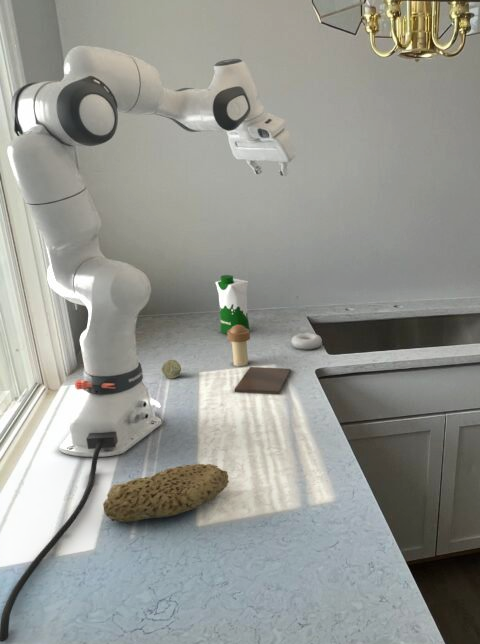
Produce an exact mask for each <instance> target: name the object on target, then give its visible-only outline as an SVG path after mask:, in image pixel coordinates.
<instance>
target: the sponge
mask: <svg viewBox="0 0 480 644" xmlns="http://www.w3.org/2000/svg"><path fill="white" fill-rule="evenodd" d="M229 483H230V481H229V475H228V471H227V470H223V469H221V468H219V467H218V465H215V464H211V463H206V464H204V463H196V464H186V465H179V466H175V467H169V468H165V469H164V471H162V470H160V471H158V472H156V473H155V474H153V475H151V476H146V477H139V478H135V479H132V480H129V481H126V482H120V483H115V484H113V485H112V486H111V488H110V490H109V491H108V493H107V495H106V496H107V498H106V499H105V500H104V501H103V503H102V506H103V512H104V515H105V516H106V517H107V518H108V519H109V520H110V521H111V522H121V523H128V522H138V521H139V522H140V521H141V520H142V521H143V520H146V519H159V518H167V517H172V516H176V515H179V514H183V513H185V512H187V511H191V510H193V509H196V508H197V507H198V506H200V505H202V504H203V503H205V502H206V501H208V500H210V499H212V498H214V497H215V496H218V495H220V493H221V492H223V491H224V490H225V489H226V488H227V487H228V484H229Z"/></svg>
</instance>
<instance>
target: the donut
mask: <svg viewBox="0 0 480 644" xmlns="http://www.w3.org/2000/svg"><path fill="white" fill-rule="evenodd" d="M291 344H292V347H294V348H295V349H297V350H304V351H311V350H315V349H317V348H320V347H321V345H322V344H323V339H322V337H321V336H320V335H318V334H316V333H312V332H302V333H298V334H295V335H294V336H293V337H292V339H291Z"/></svg>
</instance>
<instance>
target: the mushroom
mask: <svg viewBox="0 0 480 644" xmlns="http://www.w3.org/2000/svg"><path fill="white" fill-rule="evenodd" d="M249 329H250V328H249ZM249 329H247V328H245V327H244V326H242V325H235V326H233V327H232V328H231V329H229V330H228V331H227V334H226V335H227V340H228V341H229V342H231V350H232V363H233V366H234V367H235V366H236V367H245V366H247V365H248V364H249V361H248V360H249V358H248V343H247V341H249V340H251V329H250V330H249Z"/></svg>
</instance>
